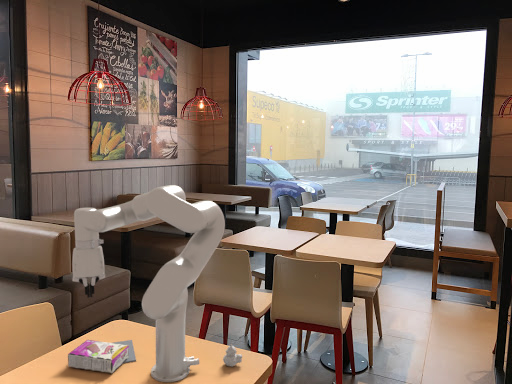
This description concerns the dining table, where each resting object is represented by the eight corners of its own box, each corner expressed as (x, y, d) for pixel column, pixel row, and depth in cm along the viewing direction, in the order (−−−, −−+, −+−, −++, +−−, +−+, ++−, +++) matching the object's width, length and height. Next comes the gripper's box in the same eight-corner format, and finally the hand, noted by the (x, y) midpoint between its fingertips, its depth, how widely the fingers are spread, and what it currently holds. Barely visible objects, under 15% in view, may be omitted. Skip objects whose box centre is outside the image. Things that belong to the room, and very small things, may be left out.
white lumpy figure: (224, 360, 150) (224, 339, 149) (242, 361, 150) (243, 339, 149) (222, 368, 145) (222, 346, 144) (241, 369, 144) (242, 347, 144)
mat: (132, 341, 163) (131, 339, 163) (136, 361, 148) (136, 359, 148) (84, 347, 157) (83, 346, 157) (83, 369, 142) (83, 368, 142)
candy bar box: (87, 338, 152) (129, 344, 149) (87, 351, 153) (129, 358, 150) (67, 353, 142) (112, 359, 138) (67, 367, 142) (112, 374, 139)
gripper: (110, 240, 152) (112, 290, 154) (64, 243, 146) (66, 295, 148) (111, 244, 145) (113, 297, 147) (62, 248, 139) (65, 302, 141)
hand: (89, 296), depth 148 cm, fingers closed
